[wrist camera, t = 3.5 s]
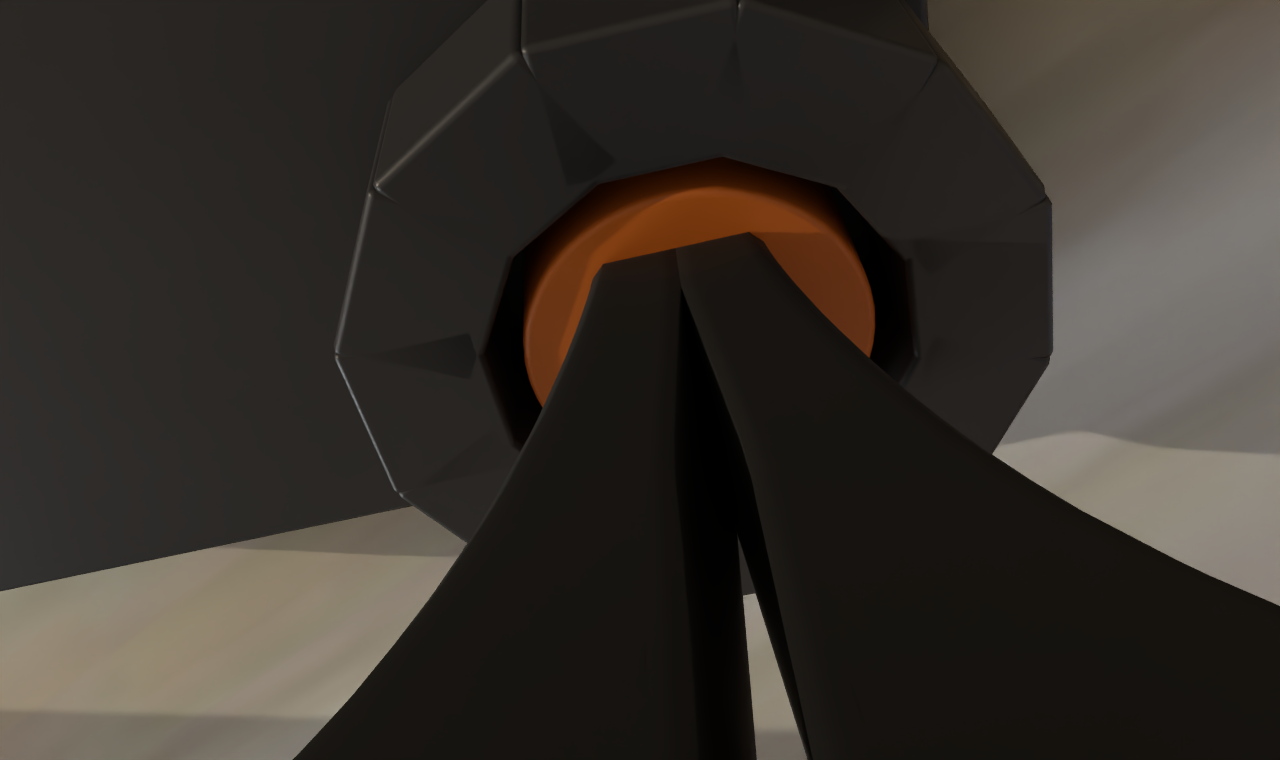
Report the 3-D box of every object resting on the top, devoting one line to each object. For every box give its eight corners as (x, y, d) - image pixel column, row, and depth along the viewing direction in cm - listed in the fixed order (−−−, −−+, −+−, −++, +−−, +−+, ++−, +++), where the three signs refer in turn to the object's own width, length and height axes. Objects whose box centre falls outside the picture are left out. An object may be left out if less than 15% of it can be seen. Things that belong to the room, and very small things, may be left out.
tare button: (856, 348, 12) (891, 444, 11) (567, 409, 13) (570, 510, 11) (820, 72, 11) (858, 152, 9) (484, 147, 11) (478, 236, 10)
